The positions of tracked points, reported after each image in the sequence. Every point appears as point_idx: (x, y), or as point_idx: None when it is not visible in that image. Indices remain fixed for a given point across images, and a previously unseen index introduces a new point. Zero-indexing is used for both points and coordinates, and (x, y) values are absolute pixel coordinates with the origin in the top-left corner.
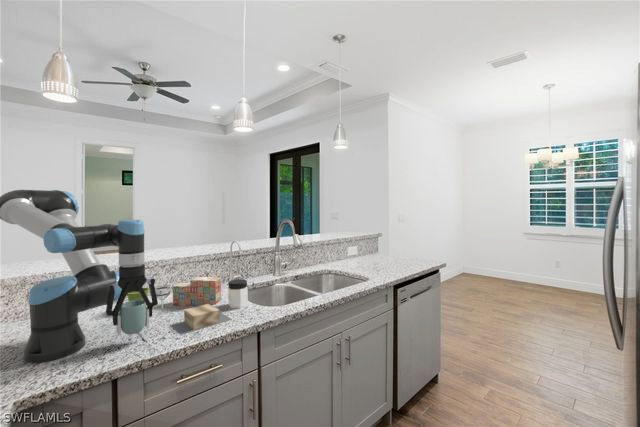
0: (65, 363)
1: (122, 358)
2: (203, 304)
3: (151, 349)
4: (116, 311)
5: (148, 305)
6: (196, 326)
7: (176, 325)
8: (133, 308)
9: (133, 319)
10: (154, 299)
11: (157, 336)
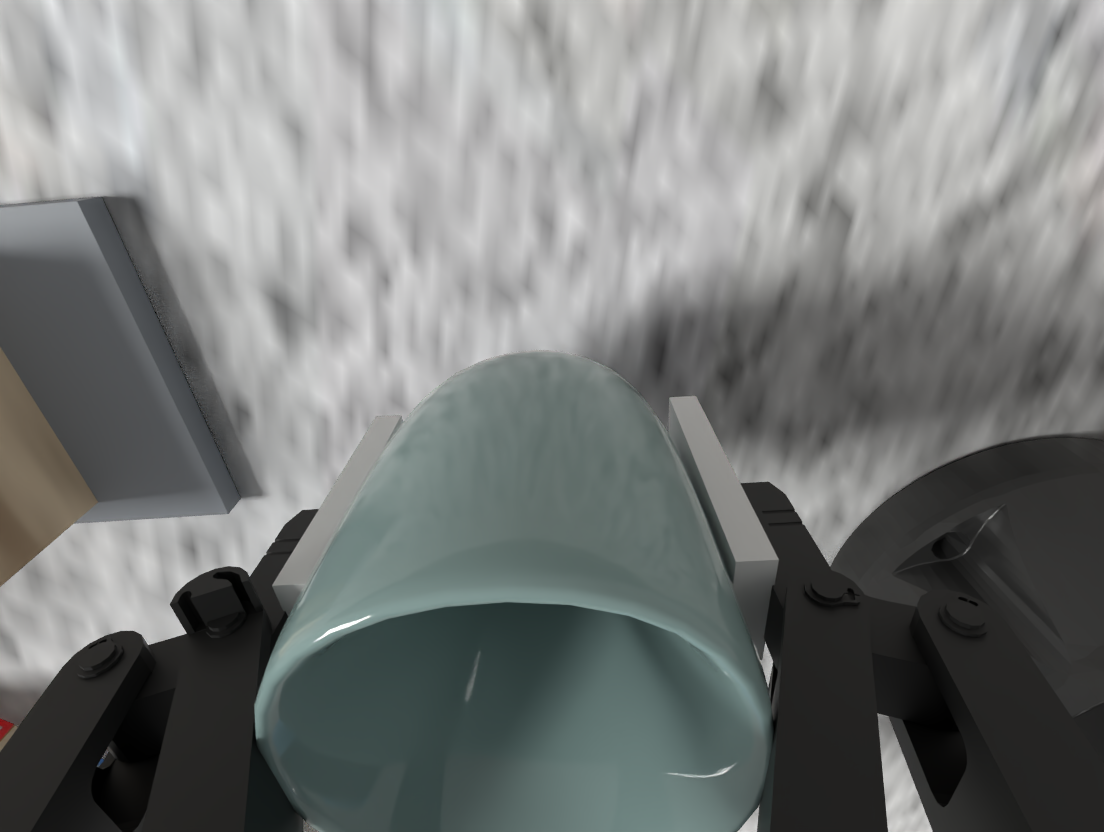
0: (1050, 322)
1: (687, 61)
2: (2, 736)
3: (402, 87)
4: (835, 641)
5: (244, 653)
6: None
7: (166, 472)
8: (535, 555)
9: (546, 409)
10: (43, 766)
11: (344, 384)
